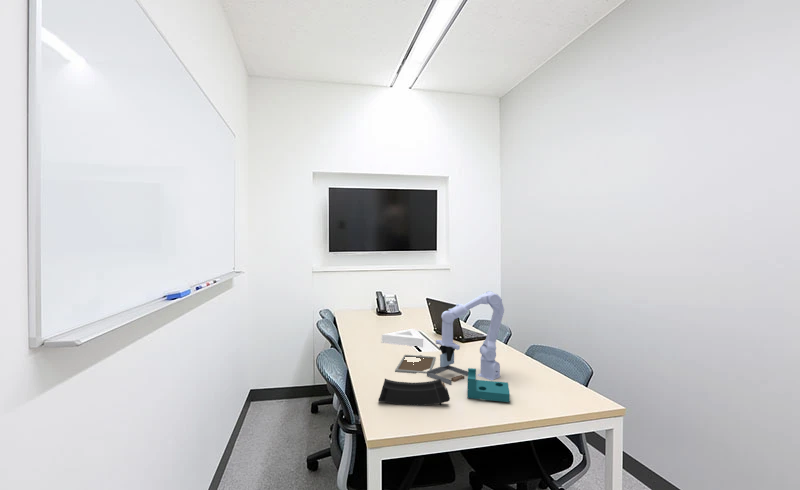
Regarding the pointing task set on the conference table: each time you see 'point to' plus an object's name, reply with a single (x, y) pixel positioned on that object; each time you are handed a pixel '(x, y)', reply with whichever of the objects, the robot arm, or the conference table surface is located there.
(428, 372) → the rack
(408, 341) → the triangle block
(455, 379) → the offcut top
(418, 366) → the picture frame
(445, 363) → the panel
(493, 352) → the robot arm
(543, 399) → the conference table surface
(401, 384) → the magazine
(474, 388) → the teal l-shaped bracket
